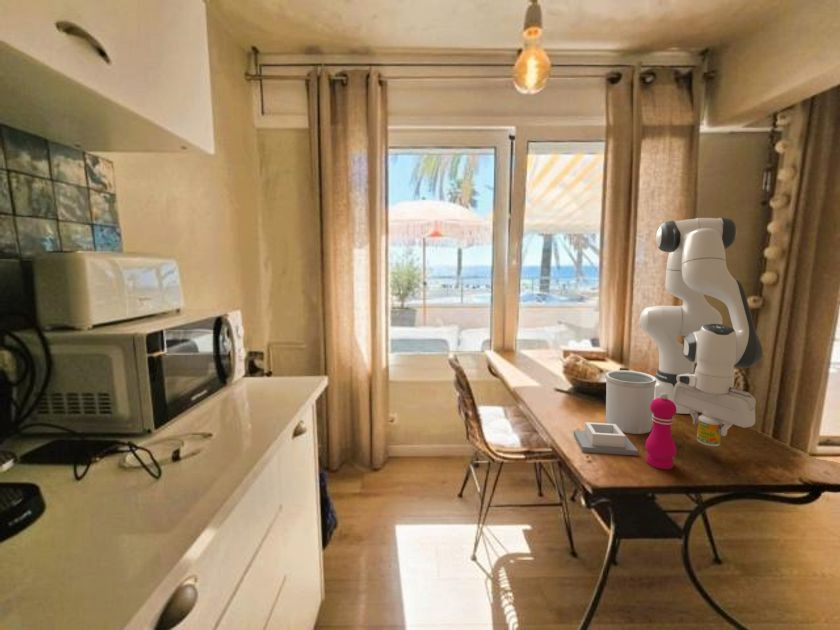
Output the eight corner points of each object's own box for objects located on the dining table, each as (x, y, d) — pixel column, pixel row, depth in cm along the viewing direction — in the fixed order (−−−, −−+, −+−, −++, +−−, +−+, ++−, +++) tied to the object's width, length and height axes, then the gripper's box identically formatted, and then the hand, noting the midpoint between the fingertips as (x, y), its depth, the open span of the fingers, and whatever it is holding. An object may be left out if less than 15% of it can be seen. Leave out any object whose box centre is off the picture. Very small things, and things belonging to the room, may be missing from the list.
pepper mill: (663, 457, 110) (668, 388, 108) (681, 470, 103) (686, 397, 101) (638, 457, 110) (642, 389, 108) (654, 470, 103) (659, 397, 100)
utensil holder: (626, 437, 123) (629, 384, 121) (594, 420, 137) (596, 371, 135) (664, 432, 127) (667, 379, 125) (628, 415, 141) (631, 368, 139)
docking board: (573, 434, 125) (574, 419, 125) (623, 437, 123) (624, 422, 122) (582, 451, 114) (582, 435, 113) (637, 455, 111) (638, 438, 111)
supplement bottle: (694, 442, 111) (697, 409, 110) (698, 436, 115) (701, 404, 113) (718, 448, 107) (721, 415, 106) (721, 442, 111) (724, 409, 110)
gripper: (764, 392, 100) (758, 443, 102) (686, 372, 119) (682, 415, 121) (748, 396, 98) (742, 448, 100) (671, 374, 117) (667, 418, 119)
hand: (709, 429), depth 110 cm, fingers closed on supplement bottle, 5 cm apart
